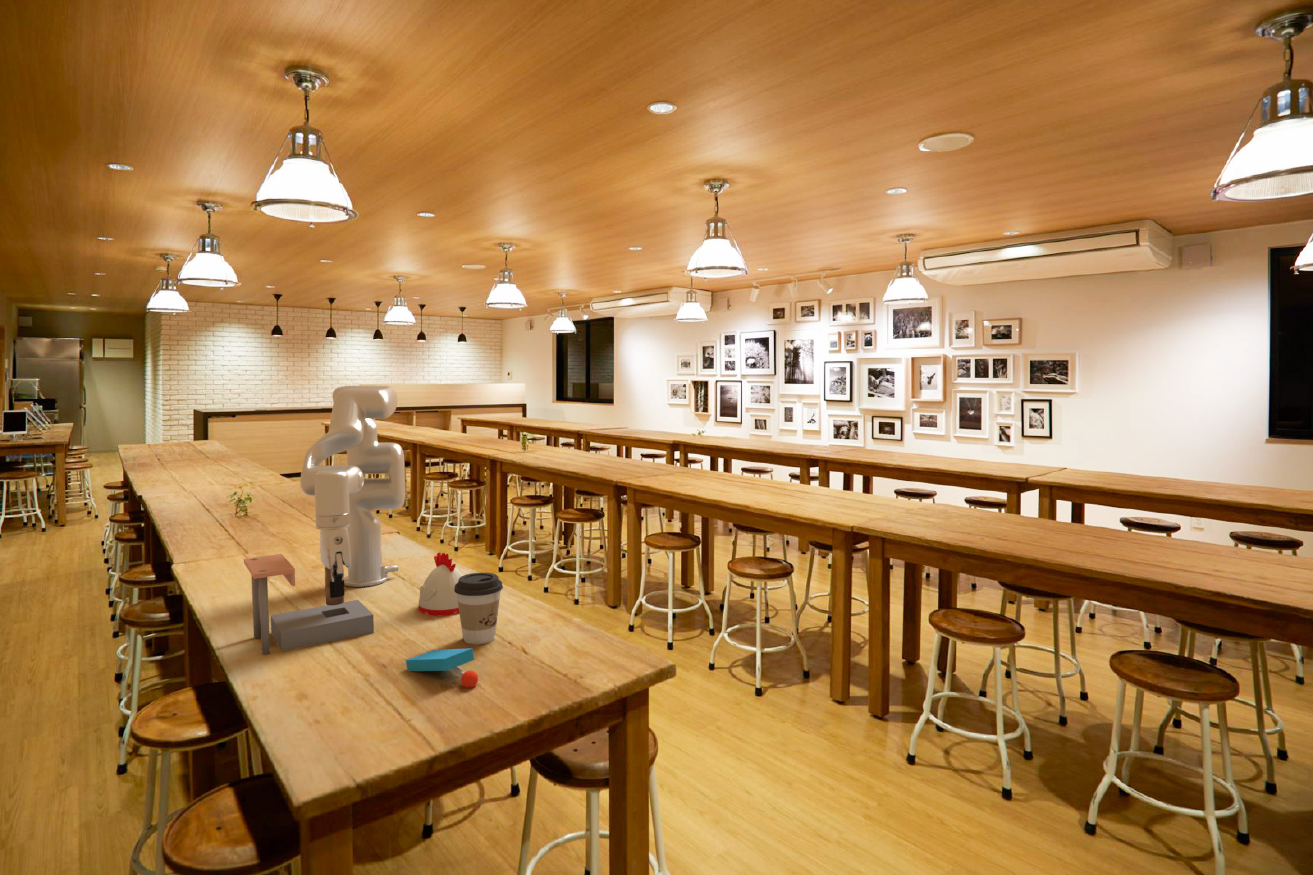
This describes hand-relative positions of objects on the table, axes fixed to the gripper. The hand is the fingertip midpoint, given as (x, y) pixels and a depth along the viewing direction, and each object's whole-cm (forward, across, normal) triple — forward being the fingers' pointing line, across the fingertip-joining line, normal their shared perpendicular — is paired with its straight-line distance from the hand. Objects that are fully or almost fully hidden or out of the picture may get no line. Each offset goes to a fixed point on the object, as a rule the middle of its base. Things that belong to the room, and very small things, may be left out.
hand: (334, 593), depth 167 cm
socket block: (+9, 0, +3) cm, 10 cm away
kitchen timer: (+10, +1, -28) cm, 30 cm away
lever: (+10, -41, -12) cm, 44 cm away
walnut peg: (+2, 0, 0) cm, 2 cm away
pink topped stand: (+9, 0, +14) cm, 17 cm away
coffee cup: (+9, -26, -26) cm, 38 cm away
